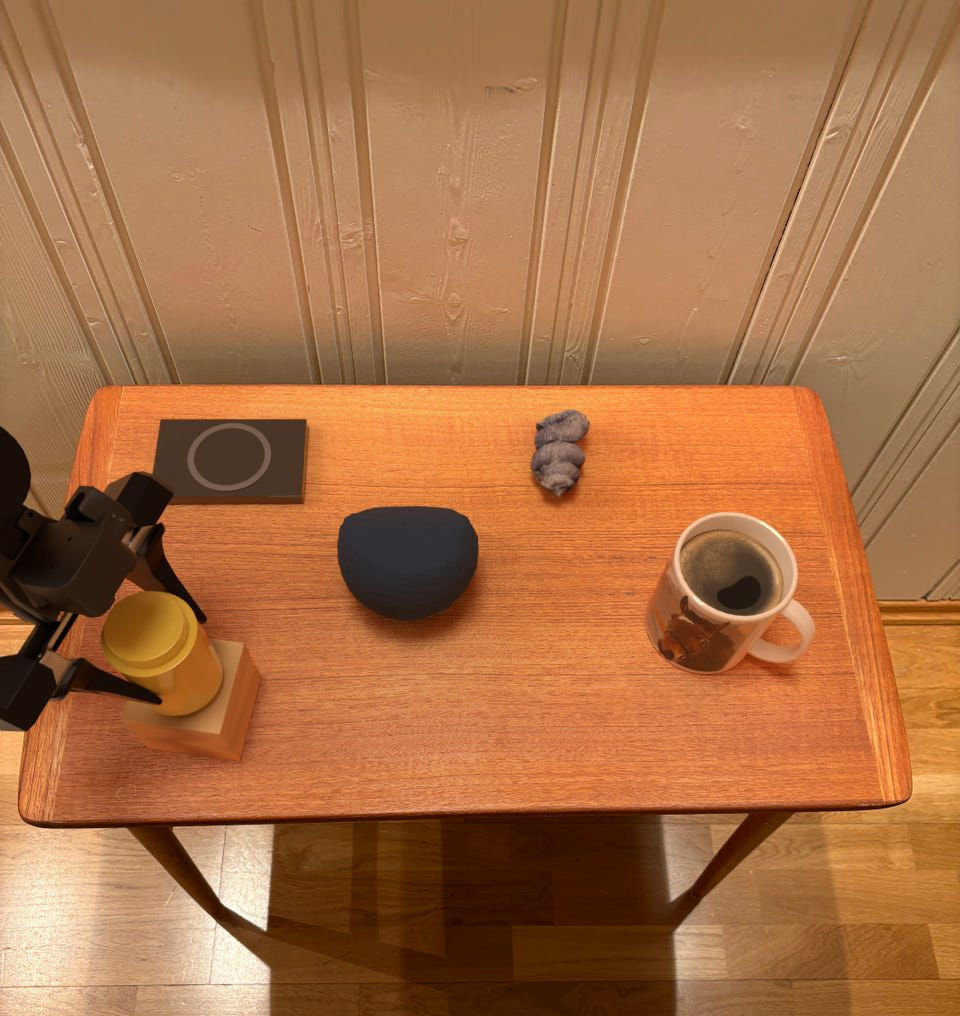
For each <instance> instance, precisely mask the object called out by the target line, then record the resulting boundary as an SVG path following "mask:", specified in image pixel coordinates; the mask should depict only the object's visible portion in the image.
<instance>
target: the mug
mask: <svg viewBox="0 0 960 1016" xmlns="http://www.w3.org/2000/svg"><path fill="white" fill-rule="evenodd" d="M798 581H799V569H798V563H797V560H796V556H795V553H794V552H793V550H792V547H791V546H790V544H789V543H788V541H787V540H786V539H785V538H784V536H783V535H781V533H780V532H779V531H777V529H775V528H774V527H773V526H772V525H770V524H769V523H767V522H765V521H763V520H762V519H760V518H757V517H755V516H752V515H749V514H746V513H742V512H736V511H735V512H733V511H721V512H720V511H719V512H715V513H710V514H708V515H704V516H701V517H700V518H697V520H695V521H693V522H692V523H690V524H689V525H688V526H687V527H686V528H685V529H684V531H682V532H681V534H680V536H679V538H678V540H677V541H676V543H675V545H674V547H673V549H672V552H671V554H670V556H669V558H668V560H667V562H666V564H665V566H664V569H663V571H662V573H661V575H660V577H659V579H658V581H657V583H656V585H655V587H654V590H653V592H652V594H651V596H650V597H649V600H648V603H647V606H646V607H645V608H646V609H645V616H644V621H645V622H644V623H645V628H646V632H647V635H648V638H649V640H650V642H651V644H652V646H653V648H654V649H655V650H656V651H657V652H658V654H659V655H661V656H662V658H663V659H665V661H667V662H668V663H670V664H671V665H673V666H674V667H677V668H678V669H681V670H683V671H686V672H689V673H694V674H699V675H700V674H702V675H703V674H704V675H710V674H711V675H712V674H718V673H722V672H725V671H727V670H730V669H732V668H733V667H736V665H738V664H739V663H740V662H742V661H743V660H744V658H745V657H746V656H747V655H748V654H749V655H751V656H753V657H755V658H757V659H758V660H762V661H765V662H768V663H777V664H780V663H781V664H782V663H783V664H784V663H791V662H795V661H798V660H799V659H802V657H803V656H805V654H806V653H807V652H808V650H809V648H810V646H811V645H812V643H813V641H814V640H815V636H816V625H815V622H814V620H813V618H812V616H811V614H810V612H809V611H808V609H806V608H805V607H804V605H802V603H800V602H799V601H797V600H796V599H794V598H793V596H794V594H795V592H796V589H797V586H798ZM779 615H780V616H782V617H783V618H785V619H786V620H787V621H788V622H790V623H791V624H792V625H793V626H794V627H795V628H796V630H797V631H798V634H799V637H800V642H799V643H796V644H793V645H787V646H786V645H779V644H774V643H771V642H769V641H766V640H765V639H762V638H761V637H762V636H763V635H764V634H765V632H766V631H767V630H768V628H769V627H770V626H771V625H772V624H773V622H774V621H775V620H776V619H777V618H778V616H779Z"/></svg>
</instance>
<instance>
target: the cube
mask: <svg viewBox="0 0 960 1016" xmlns="http://www.w3.org/2000/svg"><path fill="white" fill-rule="evenodd" d="M208 638H209V640H210V642H211V643H212V645H213V647H214V649H215V650H216V652H217V654H218V656H219V657H220V660H221V663H222V668H223V677H222V682H221V684H220V687H219V689H218V691H217V693H216V694H215V696H214V697H213V698H212V699H211V700H210V701H209V702H208V703H207V704H206V705H205V706H203V707H202V708H200V709H198V710H197V711H194V712H192V713H189V714H186V715H180V716H169V715H164V714H160V713H157V712H155V711H154V710H152V709H150V708H149V707H148V706H147V705H146V704H145V703H140V702H135V701H129V700H126V701H125V704H124V707H123V710H122V714H121V717H120V722H121V723H122V724H123V725H124V726H125V727H126V728H127V729H128V730H130V731H131V732H132V733H133V735H135V736H136V738H138V739H139V741H141V742H142V743H143V744H144V745H145V746H146V747H147V748H148V749H151V750H157V751H165V752H171V753H179V754H184V755H185V754H187V755H193V756H201V757H208V758H214V759H222V760H229V761H237V762H240V761H241V757H242V753H243V750H244V745H245V743H246V737H247V733H248V730H249V727H250V722H251V718H252V714H253V710H254V706H255V702H256V698H257V695H258V691H259V688H260V682H261V678H262V674H261V672H260V671H259V669H258V667H257V664H256V663H255V661H254V659H253V657H252V655H251V653H250V651H249V649H248V648H247V645H246V643H245V642H240V641H234V640H226V639H218V638H210V637H208Z"/></svg>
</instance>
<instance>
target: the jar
mask: <svg viewBox="0 0 960 1016" xmlns="http://www.w3.org/2000/svg"><path fill="white" fill-rule="evenodd" d="M209 638H210V637H208V635H207V633H206V631H205V629H204V628H203V626H202V624H200V623H199V621H198V619H197V617H196V616H195V614H194V612H193V610H192V609H191V607H190V606H189V605H188V604H187V603H186V602H185V601H184V600H182V599H181V598H179V597H177V596H175V595H173V594H170V593H165V592H157V591H144V590H143V591H138V592H135V593H132V594H129V595H127V596H125V597H123V598H122V599H120V600H119V601H118V602H117V603H116V604H115V605H114V606H113V607H111V608H110V611H109V612H108V614H107V616H106V617H105V621H104V623H103V625H102V629H101V631H100V647H101V651H102V654H103V656H104V658H105V660H106V661H107V662H108V664H109V666H111V667H112V668H113V670H115V672H116V673H117V674H118V675H119V676H120V678H121V679H124V680H126V681H128V682H131V683H133V684H135V685H137V686H140V687H142V688H144V689H146V690H148V691H150V692H151V693H153V694H155V695H156V696H158V697H159V698H161V699H162V700H163V702H162V704H161V705H151V704H146V703H145V704H146V705H147V706H148V707H149V708H150V709H152V710H154V711H155V712H157V713H160V714H164V715H169V716H180V715H186V714H189V713H192V712H194V711H197V710H198V709H200V708H202V707H203V706H205V705H206V704H207V703H208V702H209V701H210V700H211V699H212V698H213V697H214V696H215V694H216V693H217V691H218V689H219V687H220V684H221V682H222V677H223V668H222V663H221V660H220V657H219V656H218V654H217V652H216V650H215V649H214V647H213V645H212V643H211V642H210V640H209Z"/></svg>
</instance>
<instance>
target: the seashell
mask: <svg viewBox="0 0 960 1016" xmlns="http://www.w3.org/2000/svg"><path fill="white" fill-rule="evenodd" d="M590 426H591V421H590V420H588V419H587V415H586V414H584V413H582V412H580V411H579V410H576V409H572V408H569V409H568V408H567V409H563V410H562V411H560V412H557V413H552V414H551V415H548V416H545V417H544V418H542V419H541V420H540V421H537V422H536V423H535V430H536V431H537V432H536V433H535V434H534V441H533V443H534V446H535V450H536V451H535V452H534V453H533V454H532V456H531V460H530V469H531V471H532V474H533V475H534V478H535V480H536V482H537V483H538V484H539V485H540V487H542V488H543V489H545V490H546V491H547V492H548V493H551V494H554V495H555V496H556V497H558V498H561V497H562V496H563V495H564V494H566V493H569V492H570V491H572V490H573V489H574V488H575V487H576V485H577V484H578V483H579V481H580V477H581V471H580V469H582V467H583V466H584V464H585V463H586V452H584V450H583V449H582V447H581V446H579V445H577V444H576V443H579V442H581V441H583V440H584V439H585V437H586V436H587V435H588V433H589V429H590Z"/></svg>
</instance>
